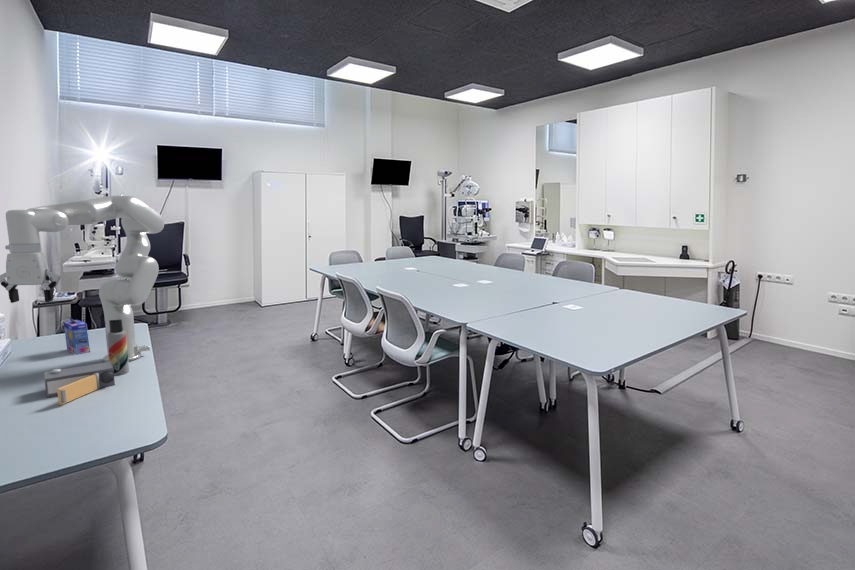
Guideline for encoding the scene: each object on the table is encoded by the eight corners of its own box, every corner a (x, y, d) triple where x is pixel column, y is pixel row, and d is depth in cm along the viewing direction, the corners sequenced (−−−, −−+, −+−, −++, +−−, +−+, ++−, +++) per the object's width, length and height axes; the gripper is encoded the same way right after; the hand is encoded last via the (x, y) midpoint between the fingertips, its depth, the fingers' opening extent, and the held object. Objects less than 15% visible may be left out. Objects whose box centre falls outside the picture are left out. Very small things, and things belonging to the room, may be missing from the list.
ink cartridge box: (65, 350, 194) (62, 316, 191) (81, 347, 198) (78, 314, 196) (74, 355, 188) (71, 320, 186) (90, 351, 192) (87, 317, 190)
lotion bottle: (109, 376, 166) (104, 321, 163) (111, 371, 171) (107, 318, 168) (128, 374, 169) (124, 320, 165) (130, 369, 174) (125, 316, 170)
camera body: (111, 377, 165) (110, 359, 163) (115, 386, 157) (113, 366, 156) (46, 389, 153) (43, 369, 152) (46, 398, 146) (44, 378, 145)
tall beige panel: (97, 387, 155) (95, 372, 154) (102, 388, 155) (101, 373, 154) (58, 404, 142) (56, 388, 141) (63, 404, 141) (62, 388, 140)
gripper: (-15, 250, 143) (-7, 304, 146) (49, 250, 147) (56, 303, 150) (2, 247, 150) (9, 299, 153) (63, 248, 154) (68, 298, 157)
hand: (32, 301), depth 151 cm, fingers open, 9 cm apart
